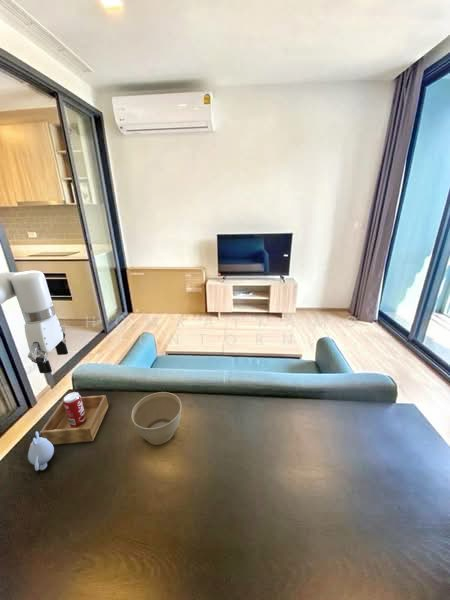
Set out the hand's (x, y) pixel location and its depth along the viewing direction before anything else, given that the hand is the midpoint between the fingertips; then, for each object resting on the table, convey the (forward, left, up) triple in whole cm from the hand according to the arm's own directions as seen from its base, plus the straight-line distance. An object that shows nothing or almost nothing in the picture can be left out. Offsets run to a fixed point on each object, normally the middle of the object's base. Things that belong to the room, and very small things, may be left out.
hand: (55, 362), depth 79 cm
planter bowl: (+31, -5, -28) cm, 42 cm away
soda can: (+1, +2, -27) cm, 27 cm away
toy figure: (-3, -13, -28) cm, 31 cm away
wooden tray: (+1, +2, -28) cm, 28 cm away
